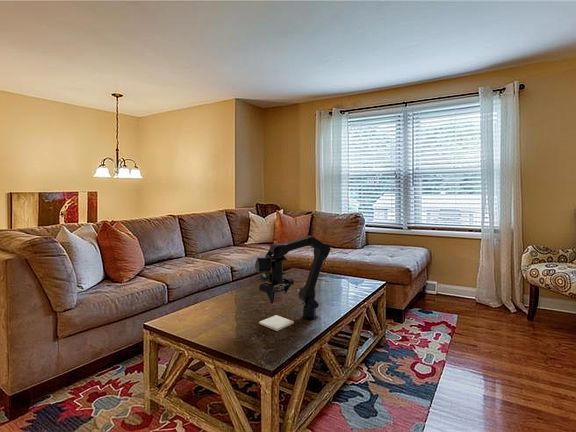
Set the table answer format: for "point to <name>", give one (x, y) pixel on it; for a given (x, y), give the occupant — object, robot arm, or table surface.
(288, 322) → the coaster
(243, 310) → the table surface
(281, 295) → the lighter
